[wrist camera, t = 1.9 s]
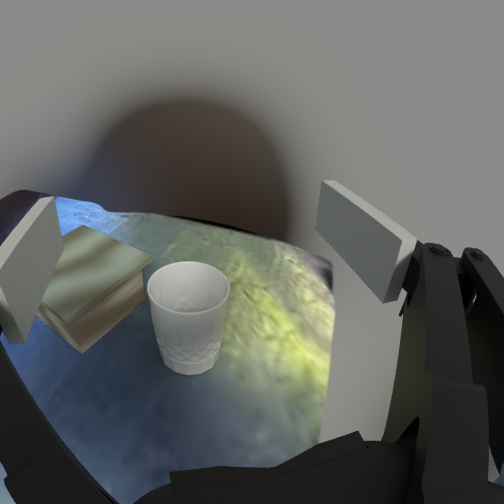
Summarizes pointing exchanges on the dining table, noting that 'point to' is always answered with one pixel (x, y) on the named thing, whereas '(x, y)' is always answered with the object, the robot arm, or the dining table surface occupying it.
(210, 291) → the white cup
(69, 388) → the dining table surface
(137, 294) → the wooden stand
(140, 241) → the dining table surface
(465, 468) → the robot arm
